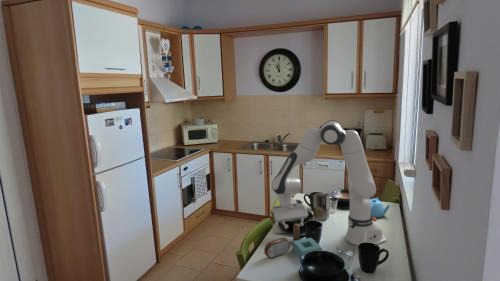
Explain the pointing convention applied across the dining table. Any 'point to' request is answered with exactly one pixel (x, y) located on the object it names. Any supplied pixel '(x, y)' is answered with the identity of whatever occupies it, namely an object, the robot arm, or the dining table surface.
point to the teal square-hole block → (305, 246)
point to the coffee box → (321, 206)
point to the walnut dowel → (296, 232)
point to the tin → (276, 247)
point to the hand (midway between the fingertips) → (294, 227)
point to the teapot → (377, 208)
